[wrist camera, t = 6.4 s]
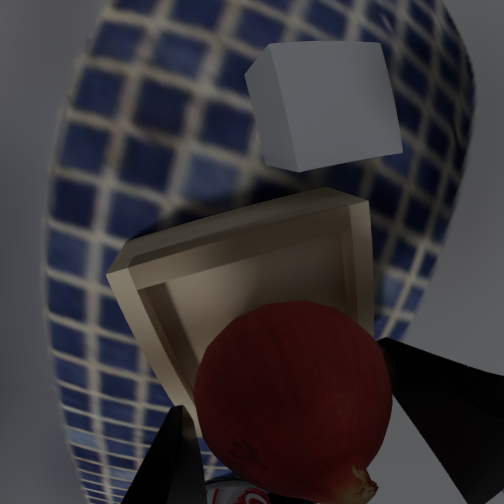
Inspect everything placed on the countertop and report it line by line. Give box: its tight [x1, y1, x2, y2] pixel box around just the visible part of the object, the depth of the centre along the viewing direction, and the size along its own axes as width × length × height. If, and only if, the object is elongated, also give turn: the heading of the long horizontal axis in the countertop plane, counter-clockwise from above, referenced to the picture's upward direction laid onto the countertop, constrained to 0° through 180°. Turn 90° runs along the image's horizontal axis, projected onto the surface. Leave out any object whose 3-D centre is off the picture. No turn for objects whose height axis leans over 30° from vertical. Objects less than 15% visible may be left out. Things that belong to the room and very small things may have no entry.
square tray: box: [106, 187, 374, 437], centre depth 12 cm, size 9×9×4 cm
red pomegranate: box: [193, 300, 393, 504], centre depth 8 cm, size 6×6×8 cm
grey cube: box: [245, 41, 403, 172], centre depth 10 cm, size 4×4×4 cm
